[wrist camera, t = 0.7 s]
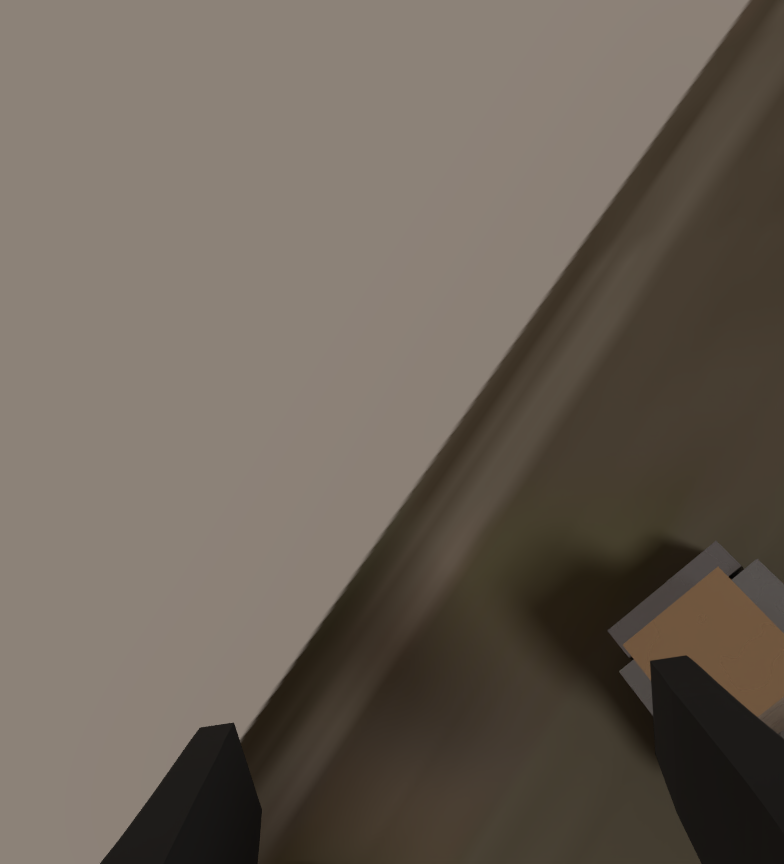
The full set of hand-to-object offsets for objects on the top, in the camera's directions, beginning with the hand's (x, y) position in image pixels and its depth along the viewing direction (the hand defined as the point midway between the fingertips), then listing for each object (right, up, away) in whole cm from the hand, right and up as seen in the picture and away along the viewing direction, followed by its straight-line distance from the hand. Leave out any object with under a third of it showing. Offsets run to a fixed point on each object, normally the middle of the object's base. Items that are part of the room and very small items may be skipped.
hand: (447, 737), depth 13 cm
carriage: (+12, -4, +13) cm, 18 cm away
